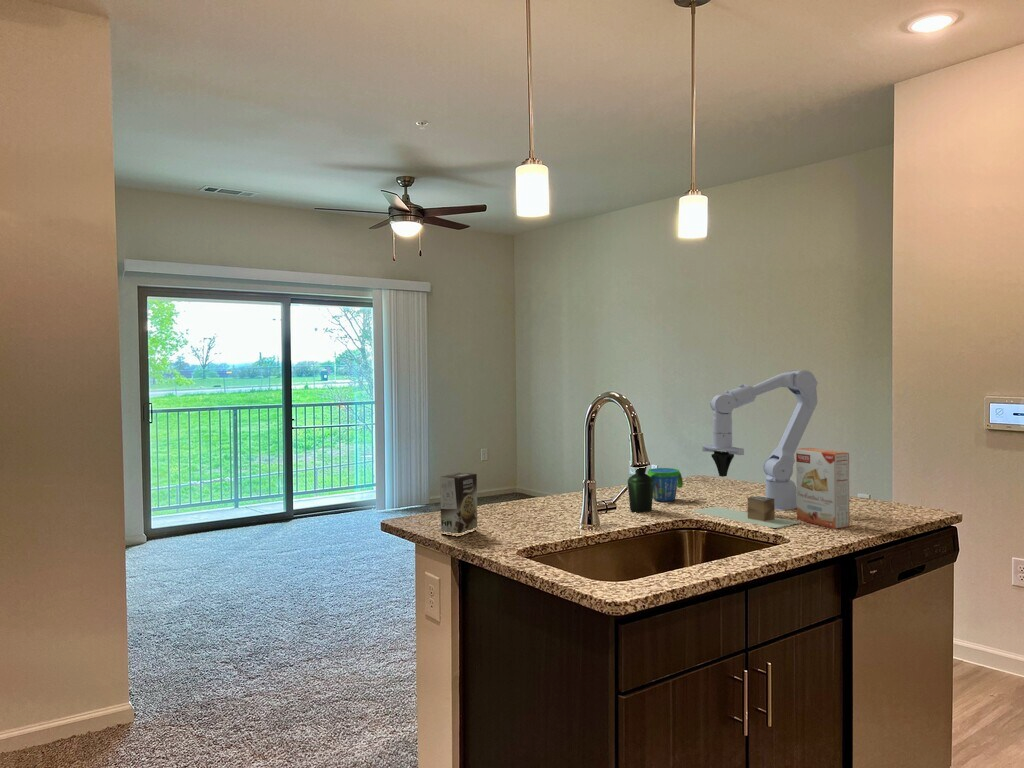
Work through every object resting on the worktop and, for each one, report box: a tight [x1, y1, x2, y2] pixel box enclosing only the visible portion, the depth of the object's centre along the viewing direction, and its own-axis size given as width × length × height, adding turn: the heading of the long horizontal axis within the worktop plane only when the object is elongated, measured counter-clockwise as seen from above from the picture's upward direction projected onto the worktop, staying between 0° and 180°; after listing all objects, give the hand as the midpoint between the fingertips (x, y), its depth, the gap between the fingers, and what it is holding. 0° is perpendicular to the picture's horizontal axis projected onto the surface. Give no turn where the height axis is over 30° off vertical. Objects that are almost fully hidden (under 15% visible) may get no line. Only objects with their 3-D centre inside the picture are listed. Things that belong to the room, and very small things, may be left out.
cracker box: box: [795, 447, 850, 530], centre depth 205 cm, size 14×6×21 cm, turn 23°
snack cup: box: [647, 467, 684, 502], centre depth 245 cm, size 16×10×10 cm
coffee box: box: [440, 472, 478, 533], centre depth 200 cm, size 9×6×16 cm
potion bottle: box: [627, 462, 654, 514], centre depth 226 cm, size 8×8×18 cm
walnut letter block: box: [747, 495, 776, 522], centre depth 211 cm, size 5×6×6 cm
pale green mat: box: [689, 506, 802, 529], centre depth 215 cm, size 12×30×1 cm, turn 35°
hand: (722, 476), depth 228 cm, fingers closed
